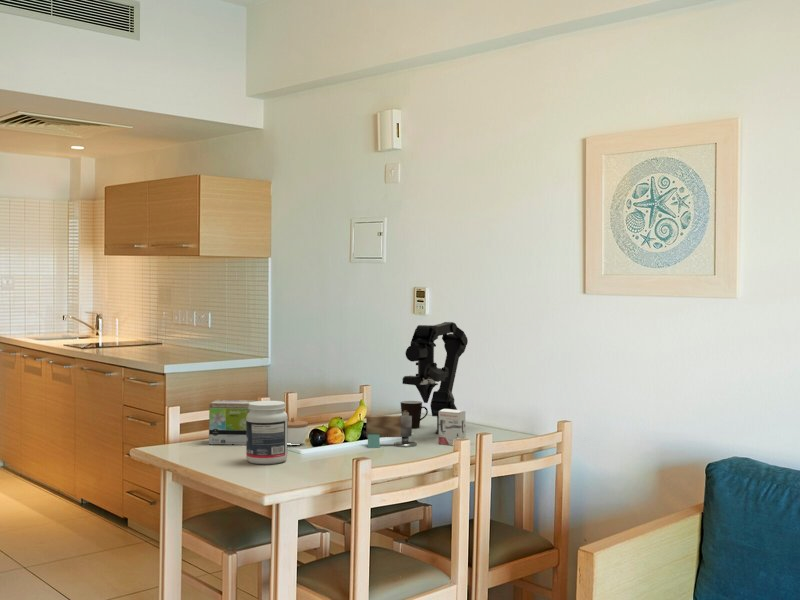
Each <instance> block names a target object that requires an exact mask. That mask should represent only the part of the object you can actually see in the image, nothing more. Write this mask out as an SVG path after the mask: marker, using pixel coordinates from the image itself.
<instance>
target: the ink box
mask: <svg viewBox="0 0 800 600" xmlns="http://www.w3.org/2000/svg"><path fill="white" fill-rule="evenodd" d="M466 435H467V434H466V410H463V409H457V410H454V409H442V410H440V411H439V434H438V444H439V445H447V446H453V445H452V444H453V440H454V439H457V438H466Z"/></svg>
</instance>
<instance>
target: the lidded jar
mask: <svg viewBox="0 0 800 600" xmlns="http://www.w3.org/2000/svg"><path fill="white" fill-rule="evenodd" d="M308 426H309V422H308V421H305V420H298V419H297V420H296V419H295V418H294V417H291V419H290V420H288V434H287V440H288V442H287V443H291V444H301V443H302V444H303V443H304V442H305V440H306V438H307V436H308V431H309V430H308V428H309V427H308ZM302 444H301V445H302Z"/></svg>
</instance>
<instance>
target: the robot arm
mask: <svg viewBox="0 0 800 600" xmlns="http://www.w3.org/2000/svg"><path fill="white" fill-rule="evenodd" d="M439 336H442V337H441V340H442V341H443V343H444V344H443V345H444V346H443V347H444V349H445V352H446V355H445V361H444V365H443V367H441V368H440V367H438V364H437V362H435V348H436V347H437V344H436V343H435V341H436V340H438V339H439ZM468 344H469V343H468V337H467V335H466V333H465V331H464V330H463V329H461V328H460V327H459V326H457V324H456V323H455V322H454V321H444V322H442V323H438V324H433V325H432V324H431V325H430V324H429V325H427V324H425V325H423V324H422V325H421V324H419V325H417V326H416V328H415V329H414V332H413V335H412V337H411V341H410V345H408V347H407V348H406V350H405V358H406V359H407V360H408V361H409V362H411V363H412V362H413V363H414V362H415V366H417V373H415V375H404V376H403V377H402V385H408V386H409V385H410V386H411V385H412V386H415V387H416V389H417V390H418V393H419V395H420V397H421V399H422V400H423V401H422V402H423V403H424V404H428V402H429V400H430V396H431V394H432V397H431V400H430V411H431V412H430V413H431V416H432V417H436V425H437V427H436V431H435V434H437V435H439V411H440V410H442V409H454V410H458V408H457V406H456V404H455V398H454V394H453V389H454V388H453V387H454V384H455V383H454V382H455V378H456V375H457V374H456V373H457V370H458V369H457V368H458V364H459V359H460V357H461V356H462V355H463V354H464V353H465V351H466V349H467V345H468ZM438 382H440V384H439V383H438ZM438 385H439V389H437V391H436V390H434V391H433V389H434V388H435V387H436V386H438ZM432 392H433V393H432Z"/></svg>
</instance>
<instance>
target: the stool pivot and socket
mask: <svg viewBox="0 0 800 600" xmlns="http://www.w3.org/2000/svg"><path fill="white" fill-rule="evenodd" d="M380 438H381V437H380V433H368V437H367V448H368V449H369V448H370V449H371V448H373V449H375V448H377V449H379V448H380V444H381V442H380ZM409 439H410V437H401V440H400V441H395V442H393V446H395V447H398V448H412V447H416V446H417V445H418V442H415V441H410V440H409Z"/></svg>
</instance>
